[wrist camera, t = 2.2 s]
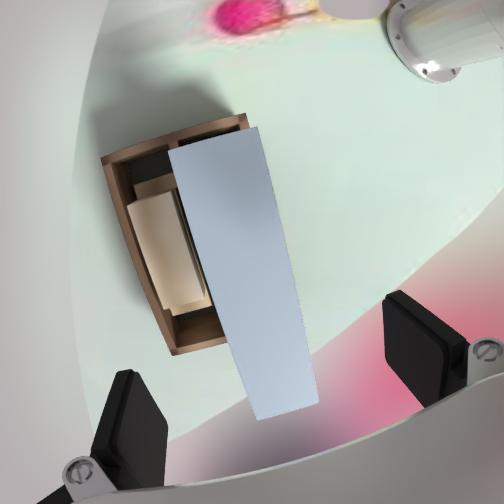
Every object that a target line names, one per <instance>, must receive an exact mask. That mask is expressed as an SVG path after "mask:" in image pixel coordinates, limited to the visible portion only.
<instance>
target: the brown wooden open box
mask: <svg viewBox="0 0 504 504" xmlns="http://www.w3.org/2000/svg"><path fill="white" fill-rule="evenodd" d="M249 128H250V127H249V123H248V120H247V116H246V113H243V114H239V115H235V116H230V117H226V118H222V119H219V120H215V121H211V122H207V123H204V124H200V125H197V126H193V127H190V128H186V129H183V130H179V131H176V132H173V133H170V134H166V135H163V136H160V137H157V138H154V139H151V140H148V141H145V142H142V143H139V144H136V145H134V146H131V147H128V148H125V149H123V150H120V151H117V152H114V153H112V154H109V155H107V156H104V157H101V162H102V166H103V169H104V173H105V177H106V180H107V184H108V187H109V190H110V194H111V197H112V200H113V204H114V207H115V210H116V213H117V216H118V219H119V222H120V225H121V228H122V231H123V234H124V237H125V240H126V243H127V246H128V249H129V252H130V254H131V257H132V260H133V263H134V265H135V268H136V271H137V273H138V276H139V279H140V281H141V284H142V286H143V289H144V292H145V294H146V297H147V299H148V302H149V304H150V306H151V309H152V311H153V314H154V316H155V318H156V321H157V323H158V325H159V328H160V330H161V332H162V335H163V337H164V339H165V341H166V344H167V346H168V348H169V350H170V352H171V355H172V356H175V355H179V354H183V353H188V352H192V351H196V350H200V349H204V348H208V347H212V346H216V345H220V344H224V343H228V341H227V339H226V336H225V333H224V330H223V327H222V324H221V322H220V319H219V316H218V313H217V312H213V313H210V314H206V315H202V316H198V317H195V318H191V319H187V320H183V321H181V320H180V318H179V315H175V316H173V315H172V312H171V310H170V308H169V309H165V310H164V309H163V306H162V304H161V301H160V299H159V296H158V294H157V291H156V288H155V286H154V283H153V281H152V278H151V275H150V273H149V270H148V267H147V264H146V262H145V259H144V256H143V253H142V250H141V247H140V245H139V242H138V239H137V236H136V233H135V230H134V227H133V224H132V221H131V218H130V215H129V211H128V208H127V206H128V205H129V204H131V203H133V202H134V201H136V200H138V199H137V196H136V192H135V189H134V184H133V180H132V177H131V173H130V170H129V166H128V163H127V162H130V161H133V160H135V159H138V158H141V157H144V156H147V155H150V154H153V153H156V152H159V151H162V150H166V149H169V148H170V150H172V149H175V148H179V147H182V146H184V145H183V144H185V143H188V142H192V141H195V140H199V139H202V138H206V137H210V136H213V135H217V134H221V133H224V132H228V131H232V130H235V132H236V131H240V130H244V129H249Z"/></svg>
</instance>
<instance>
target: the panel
mask: <svg viewBox="0 0 504 504" xmlns="http://www.w3.org/2000/svg"><path fill="white" fill-rule="evenodd" d="M168 154H169V158H170V161H171V165H172V168H173V172H174V175H175V179H176V182H177V186H178V189H179V193H180V196H181V200H182V203H183V206H184V210H185V213H186V217H187V220H188V223H189V226H190V230H191V233H192V236H193V239H194V243H195V246H196V249H197V252H198V255H199V258H200V262H201V265H202V268H203V271H204V274H205V277H206V280H207V283H208V286H209V289H210V292H211V295H212V298H213V301H214V304H215V307H216V310H217V313H218V316H219V319H220V322H221V324H222V327H223V330H224V333H225V336H226V339H227V341H228V344H229V347H230V350H231V353H232V355H233V358H234V361H235V364H236V366H237V369H238V372H239V375H240V377H241V380H242V383H243V385H244V388H245V391H246V393H247V396H248V398H249V401H250V404H251V406H252V409H253V411H254V414H255V416H256V419H257V420H262V419H265V418H269V417H273V416H276V415H280V414H283V413H287V412H291V411H294V410H297V409H301V408H303V407H307V406H310V405H313V404H316V403H319V398H318V393H317V387H316V382H315V377H314V372H313V367H312V362H311V357H310V352H309V347H308V342H307V337H306V332H305V327H304V322H303V318H302V313H301V308H300V303H299V299H298V294H297V290H296V285H295V280H294V276H293V271H292V267H291V263H290V258H289V254H288V249H287V245H286V241H285V236H284V232H283V228H282V224H281V219H280V215H279V211H278V207H277V203H276V199H275V194H274V190H273V186H272V182H271V178H270V174H269V170H268V166H267V162H266V158H265V154H264V151H263V147H262V143H261V139H260V135H259V131H258V127H253V128H249V129H244V130H240V131H236V132H232V133H228V134H225V135H221V136H217V137H213V138H210V139H206V140H202V141H199V142H195V143H192V144H189V145H185V146H182V147H179V148H175V149H172V150H169V151H168Z"/></svg>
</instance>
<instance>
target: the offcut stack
mask: <svg viewBox="0 0 504 504" xmlns="http://www.w3.org/2000/svg"><path fill="white" fill-rule="evenodd" d="M134 189H135V192H136V196H137V199H138V200H136V201H134V202H133V203H131V204H129V205H128V206H127V208H128V211H129V215H130V218H131V221H132V224H133V227H134V230H135V233H136V236H137V239H138V242H139V245H140V247H141V250H142V253H143V256H144V259H145V262H146V264H147V267H148V270H149V273H150V275H151V278H152V281H153V283H154V286H155V288H156V291H157V294H158V296H159V299H160V301H161V304H162V306H163V309H164V310H165V309H169V308H170V310H171V312H172V315H173V316H175V315H179V314H183V313H186V312H190V311H194V310H198V309H202V308H205V307H209V306H212V300H213V298H212V295H211V292H210V289H209V286H208V283H207V280H206V277H205V274H204V271H203V268H202V265H201V262H200V258H199V255H198V252H197V249H196V246H195V243H194V239H193V236H192V233H191V230H190V226H189V223H188V220H187V217H186V213H185V210H184V206H183V203H182V200H181V196H180V193H179V189H178V186H177V182H176V179H175V175H174V172H173V173H169V174H166V175H163V176H160V177H157V178H154V179H151V180H148V181H145V182H142V183H139V184H136V185H134Z"/></svg>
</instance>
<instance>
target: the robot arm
mask: <svg viewBox="0 0 504 504" xmlns="http://www.w3.org/2000/svg"><path fill="white" fill-rule="evenodd" d="M386 26H387V33H388V36H389V39H390V42H391V44H392V46H393V49H394V50H395V52H396V54H397V55H398V57H399V58H400V59H401V61H402V62H403V63H404V64H405V65H406V66H407V67H408V68H409V69H410V70H411V71H412V72H413V73H414V74H416V75H417V76H418V77H420V78H422V79H424V80H426V81H429V82H432V83H445V82H448V81H451V80H453V79H454V78H455V77H456V76H457V75H458V74H459V72H460V69H461V66H465V65H469V64H473V63H477V62H482V61H486V60H491V59H495V58H500V57H504V0H423V1H420V0H401V1H399V2H398V3H396V4H395V5H394V6H392V8H391V9H390V10H389V12H388V16H387V23H386ZM382 309H383V324H384V345H385V359H386V361H387V363H388V365H389V366H390V367H391V368H392V370H393V371H394V372H395V373H396V374H397V375H398V377H399V378H400V379H401V380H402V381H403V383H404V384H405V385H406V386H407V387H408V389H409V390H410V391H411V392H412V393H413V395H414V396H415V397H416V398H417V400H418V401H419V402H420V403H421V404H422V405H423V407H424V409H422V410H420V411H418V412H416V413H415V414H412V415H410V416H408V417H406V418H404V419H402V420H400V421H398V422H396V423H393V424H392V425H389V426H387V427H385V428H382V429H380V430H378V431H375V432H373V433H371V434H368V435H366V436H364V437H361V438H358V439H356V440H353V441H351V442H348V443H345V444H343V445H340V446H338V447H335V448H332V449H329V450H326V451H323V452H320V453H317V454H314V455H311V456H308V457H304V458H301V459H298V460H295V461H291V462H288V463H284V464H280V465H277V466H273V467H269V468H265V469H261V470H257V471H252V472H248V473H244V474H239V475H234V476H229V477H224V478H219V479H213V480H207V481H201V482H194V483H186V484H179V485H171V486H164V475H165V461H166V448H167V437H168V424H167V421H166V419H165V418H164V416H163V414H162V413H161V411H160V409H159V408H158V406H157V404H156V403H155V401H154V399H153V398H152V396H151V394H150V392H149V391H148V389H147V387H146V385H145V383H144V382H143V380H142V378H141V376H140V374H139V373H138V372H134V371H133V370H132V369H128V370H123V371H118V372H117V373H116V375H115V378H114V381H113V384H112V387H111V389H110V392H109V395H108V398H107V401H106V404H105V407H104V410H103V413H102V416H101V419H100V422H99V425H98V428H97V431H96V434H95V437H94V441H93V444H92V447H91V454H90V457H89V456H81V457H77V458H75V459H73V460H72V461H70V462H69V463H68V464H67V465H66V466H65V468H64V471H63V473H62V478H63V482H64V485H63V486H62V487H60V488H59V489H57V490H56V491H54V492H53V493H51V494H50V495H49V496H47V497H46V498H44V499H43V500H42V501H40V502H38V503H37V504H504V343H503V342H502V341H500V340H498V339H496V338H490V337H484V338H480V339H477V340H475V341H474V342H472V343H471V344H470V343H468V342H467V341H466V339H465V338H464V337H463V336H462V335H460V334H459V333H458V332H456V331H455V330H454V329H453V328H451V327H450V326H449V325H447V324H446V323H445V322H443V321H442V320H441V319H439V318H438V317H437V316H435V315H434V314H433V313H431V312H430V311H429V310H427V309H426V308H424V307H423V306H422V305H421V304H419V303H418V302H416V301H415V300H414V299H412V298H411V297H410V296H408V295H407V294H405V293H404V292H403V291H401V290H397V291H395V292H392V293H390V294H387V295H386V297H385V299H384V300H383V301H382Z"/></svg>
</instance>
